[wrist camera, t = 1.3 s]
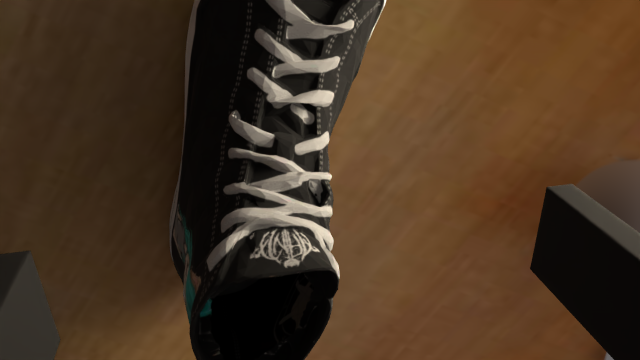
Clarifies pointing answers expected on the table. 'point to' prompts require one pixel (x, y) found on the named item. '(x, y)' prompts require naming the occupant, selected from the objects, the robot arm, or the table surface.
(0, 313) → the robot arm
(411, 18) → the table surface
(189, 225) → the sneaker
